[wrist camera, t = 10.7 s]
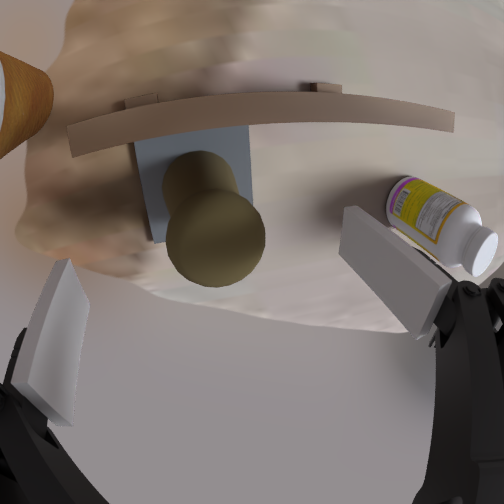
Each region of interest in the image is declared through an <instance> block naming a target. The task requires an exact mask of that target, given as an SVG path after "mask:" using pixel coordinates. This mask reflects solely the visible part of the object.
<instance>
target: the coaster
mask: <svg viewBox="0 0 504 504" xmlns="http://www.w3.org/2000/svg"><path fill="white" fill-rule="evenodd" d="M134 145H135V152H136V158H137V163H138V169H139V175H140V180H141V185H142V190H143V195H144V200H145V205H146V210H147V214H148V219H149V223H150V227H151V232H152V236H153V240H154V244H156V243H161V242H166V232H167V226H168V222H169V220H170V215H169V212H168V209H167V206H166V203H165V201H164V198H163V191H162V183H163V178H164V174H165V172H166V171H167V169H168V167H169V165H170V164H171V163H172V162H174V161H175V160H176V159H177V158H178V157H179V156H182V155H184V154H186V153H188V152H192V151H200V150H203V151H208V152H213V153H215V154H217V155H218V156H220V157H222V158H223V159H224V160H225V161H226V162H227V163H228V164H229V165H230V167H231V169H232V172H233V174H234V177H235V180H236V184H237V187H238V191H239V194H240V196H242V197H244V198H246V199H247V200H248V201H249V202H250V203H251V204H252V205H253V195H252V178H251V160H250V143H249V126H248V125H242V126H232V127H223V128H214V129H206V130H199V131H192V132H185V133H179V134H173V135H167V136H161V137H156V138H151V139H146V140H141V141H136V142H134Z"/></svg>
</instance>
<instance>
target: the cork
mask: <svg viewBox="0 0 504 504" xmlns="http://www.w3.org/2000/svg"><path fill="white" fill-rule="evenodd" d="M162 191H163V198H164V201H165V203H166V206H167V209H168V212H169V215H170V220H169V222H168V226H167V232H166V247H167V252H168V256H169V258H170V260H171V261H172V263H173V265H174V266H175V268H176V270H177V271H178V272H179V273H180V274H181V275H182V276H184V277H185V278H186V279H187V280H189V281H191V282H194V283H196V284H199V285H202V286H205V287H223V286H228V285H231V284H234V283H236V282H238V281H240V280H242V279H243V278H245V277H246V276H247V275H248V274H250V273H251V272H252V271H253V269H254V268H255V266H256V265H257V264H258V262H259V261H260V259H261V257H262V254H263V251H264V248H265V227H264V224H263V222H262V219H261V216H260V214H259V213H258V211H257V210H256V209H255V208H254V207H253V205H252V204H251V203H250V202H249V201H248V200H247V199H246V198H244V197H242V196H240V194H239V191H238V187H237V184H236V180H235V177H234V174H233V172H232V169H231V167H230V165H229V164H228V163H227V162H226V161H225V160H224V159H223V158H222V157H220V156H218V155H217V154H215V153H213V152H208V151H203V150H200V151H192V152H188V153H186V154H184V155H182V156H179V157H178V158H177V159H176V160H175V161H174V162H172V163H171V164H170V165H169V167H168V169H167V171H166V172H165V174H164V178H163V183H162Z"/></svg>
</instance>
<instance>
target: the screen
mask: <svg viewBox="0 0 504 504" xmlns="http://www.w3.org/2000/svg"><path fill="white" fill-rule="evenodd" d="M124 100H125V108H126V110H122V111H118V112H114V113H110V114H106V115H102V116H98V117H95V118H91V119H88V120H84V121H81V122H78V123H75V124H71V125H68V126H67V133H68V138H69V144H70V149H71V154H72V158H74V157H77V156H80V155H84V154H87V153H91V152H95V151H98V150H102V149H106V148H110V147H114V146H118V145H123V144H127V143H131V142H136V141H141V140H146V139H151V138H156V137H161V136H167V135H173V134H179V133H185V132H192V131H199V130H206V129H214V128H223V127H232V126H242V125H255V124H269V123H291V122H352V123H373V124H387V125H398V126H408V127H417V128H425V129H433V130H440V131H446V132H452V133H453V132H454V119H455V112H451V111H447V110H443V109H439V108H435V107H430V106H426V105H421V104H416V103H410V102H405V101H399V100H392V99H386V98H379V97H371V96H362V95H352V94H342V85H338V84H325V83H311V92H249V93H233V94H221V95H211V96H202V97H193V98H186V99H179V100H173V101H166V102H161V103H158V96H157V93H152V94H147V95H142V96H137V97H133V98H128V99H124Z"/></svg>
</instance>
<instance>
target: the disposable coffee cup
mask: <svg viewBox="0 0 504 504" xmlns="http://www.w3.org/2000/svg"><path fill="white" fill-rule="evenodd" d="M53 97H54V92H53V86H52V83H51V80H50V79H49V77H48V75H47V74H46V73H44V72H43V71H41V70H40V69H37V68H35V67H33V66H31V65H29V64H27V63H25V62H22V61H20V60H18V59H16V58H14V57H12V56H10V55H7V54H5V53H3V52H1V51H0V159H1V158H3V156H5V155H6V154H7V153H9V152H10V151H11V150H13V149H14V148H16V147H17V146H18V145H20V144H21V143H23V142H24V141H25V140H27V139H29V138H30V137H32V136H33V135H35V134H36V133H37V132H38V131H39V130H40V129H41V128H42V127H43V125H44V124H45V122H46V121H47V119H48V117H49V115H50V112H51V109H52V105H53Z"/></svg>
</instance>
